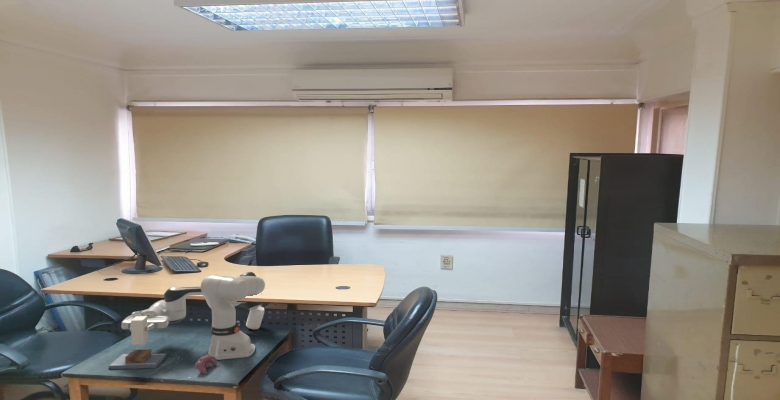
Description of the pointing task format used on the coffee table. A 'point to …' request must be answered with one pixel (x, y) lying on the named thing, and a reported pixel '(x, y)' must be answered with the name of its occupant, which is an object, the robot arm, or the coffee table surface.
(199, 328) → the coffee table surface
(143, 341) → the cream pillar
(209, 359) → the video game controller
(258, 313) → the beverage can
